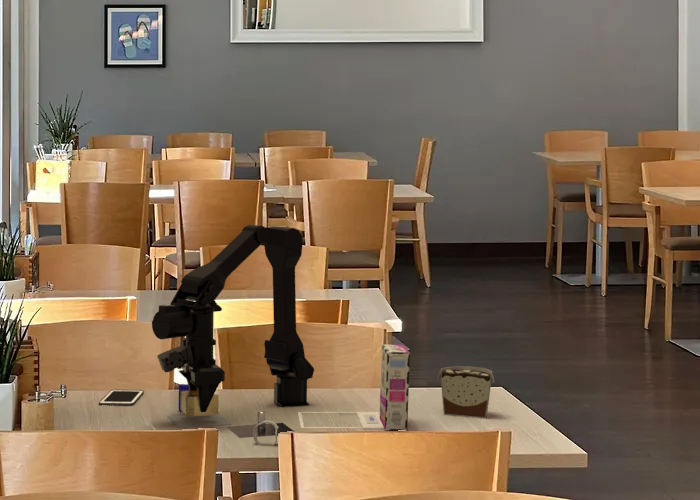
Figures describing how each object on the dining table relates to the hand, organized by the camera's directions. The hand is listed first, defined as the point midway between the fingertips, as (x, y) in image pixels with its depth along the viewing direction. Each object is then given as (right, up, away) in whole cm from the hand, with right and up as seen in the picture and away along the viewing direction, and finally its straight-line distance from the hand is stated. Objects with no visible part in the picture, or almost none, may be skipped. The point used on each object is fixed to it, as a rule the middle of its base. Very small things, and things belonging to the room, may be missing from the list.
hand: (199, 408), depth 260 cm
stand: (+13, -4, -7) cm, 16 cm away
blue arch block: (-4, -2, +16) cm, 17 cm away
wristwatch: (+15, -5, -19) cm, 25 cm away
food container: (+57, -3, +13) cm, 59 cm away
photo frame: (+30, -4, +3) cm, 30 cm away
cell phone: (-20, -1, +23) cm, 30 cm away
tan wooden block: (0, -1, 0) cm, 1 cm away
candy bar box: (+40, -4, 0) cm, 41 cm away
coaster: (0, -3, 0) cm, 3 cm away
